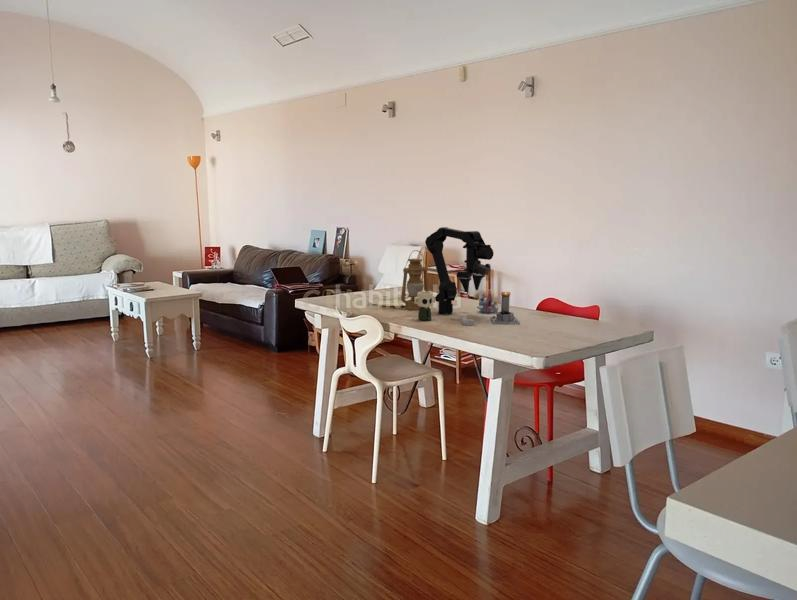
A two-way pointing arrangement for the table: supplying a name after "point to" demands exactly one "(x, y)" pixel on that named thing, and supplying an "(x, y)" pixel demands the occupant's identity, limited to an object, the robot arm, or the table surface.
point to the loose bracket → (467, 321)
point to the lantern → (414, 282)
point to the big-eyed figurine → (424, 304)
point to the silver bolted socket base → (504, 318)
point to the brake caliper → (487, 304)
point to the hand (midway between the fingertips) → (471, 291)
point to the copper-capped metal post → (505, 302)
